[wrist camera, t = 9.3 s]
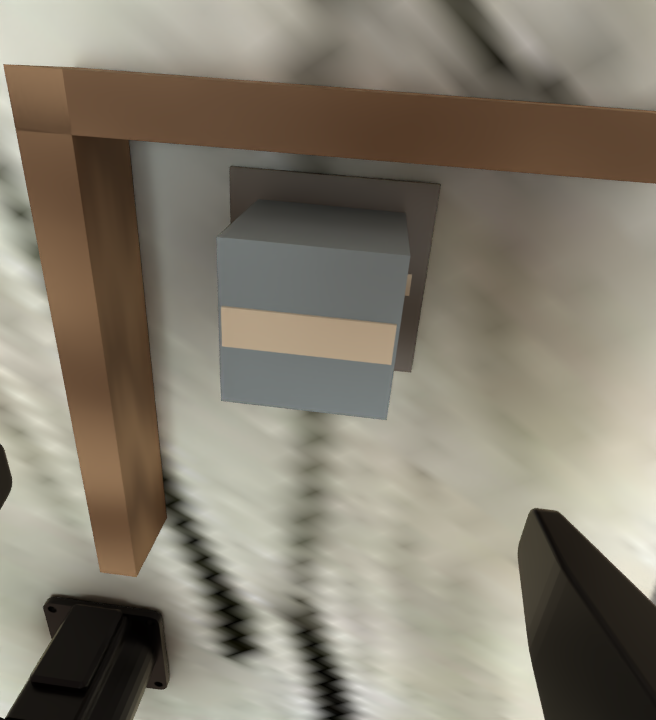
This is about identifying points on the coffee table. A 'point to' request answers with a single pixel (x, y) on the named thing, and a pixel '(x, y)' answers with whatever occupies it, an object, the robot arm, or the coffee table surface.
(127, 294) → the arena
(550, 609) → the robot arm
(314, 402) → the cube
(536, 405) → the coffee table surface
